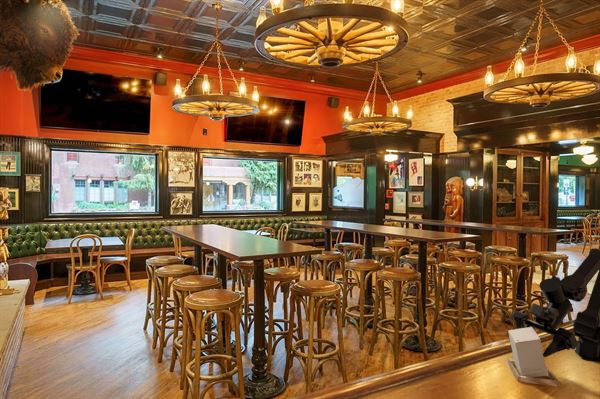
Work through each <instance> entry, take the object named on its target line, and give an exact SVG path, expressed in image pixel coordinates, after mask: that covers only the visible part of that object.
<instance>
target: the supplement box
mask: <svg viewBox="0 0 600 399" xmlns="http://www.w3.org/2000/svg"><path fill="white" fill-rule="evenodd" d="M507 332H508V337H509V342H510V346H511V351H512V355H513V360H514V361H515V365H516V366H515V365H514V366H515V368H517V369H516V370H517V372H518V374H519V375H520V376H526V377H533V378H539V377H546V376H547V377H548V375H547V370H546V366H547V365H546V361H545V360H546V359H545V357H544V356H543V353H544V351H543V346H542V341H541V338H540V336H539V335H538V334H537V332H536V331H535V328H533V327H527V328H520V329H516V328H515V329H509V330H508V331H507Z"/></svg>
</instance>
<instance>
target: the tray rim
mask: <svg viewBox="0 0 600 399" xmlns="http://www.w3.org/2000/svg"><path fill="white" fill-rule="evenodd" d="M505 364H506V366H507V367H508V369H509V370H510V372H511V373H512V375H513V377H514V378H515V380H516V381H517V382H520V383H526V384H533V385H534V384H536V385H542V386H549V387H555V388H556V387H557V388H560V386H561V382H560V381H559V379H558V378H557V377H556V376H555V375H554V373H553V372H552V371H551V370H550V368H549V367H548V366H547V365H546V370H547V377H548V378H549V379H547V378H539V377H526V376H521V375H520V373H519V371H518V370H517V369H516V365H515V361H514V359H510V358H506V362H505Z"/></svg>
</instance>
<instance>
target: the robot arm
mask: <svg viewBox="0 0 600 399" xmlns="http://www.w3.org/2000/svg"><path fill="white" fill-rule="evenodd" d="M596 274H597V276H596V278H595V281H594V284H593V287H592V290H591V293H590V296H589V299H588V303H587V305H586V308H585V309H584V310H582V311H578V312H577V314H576V318H575V320H574V321H573V325H572V326H573V331H572V330H569V329H566V328H563V327H560V326H564V321H563V320H564V319H565V318H566V316H567V315H568V313H573V312H574V307H573V303H572V302H571V301H573V302H576V303H577V302H578V303H579V302H582V301H583V300H584V299H585V298H586V295H587V293H588V285H589V283H590V282H591V280H592V279H593V278H594V277H595V275H596ZM539 289H540V291H541V293H542V295H543V297H544V299H545V300H546V302H548V303H547V305H546V306H543V305H540V304H537V303H532V304H531V306H530V309H529V311H528V313H529V314H532V315H533V316H532V318H533V320H531V319H530V317H529V316H528V314H526V313H524V312H522V311H518V310H515V311H514V312H513V313H512V315H511V318H512V319H513V321H514V323H515V325H516V326H515V329H520V328H527V327H532V328H533V329H534V330H535V329H536V330H538V331H540V332H543V333H545V334H548V335H550V336H553V338H552V340H551V341H550V343H549V344H548V346H547V347H546V348H545V350H544V351H543V356H544V358H547V357H549V356H552V355H554V354H556V353H559V352H562V351H565V350H567V351H569V350H574V353H576V354H577V355H578V357H580V358H581V359H582V360H586V361H595V362H600V248H591V249H590V250H589V253H588V255H587V256H586V257H585V258H584V259H583V261H582V262H581V263H580V265H579V266H578V267H577V268H576V269H575V270H574V272H573V273H572V274H569V275H567V276H564V277H563V278H561V277H559V276H555V275H553V276H551V277H550V278H549V277H548V278H546V279H543V280H541V281H540V283H539ZM534 320H535V321H534ZM577 338H578V339H577Z"/></svg>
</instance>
